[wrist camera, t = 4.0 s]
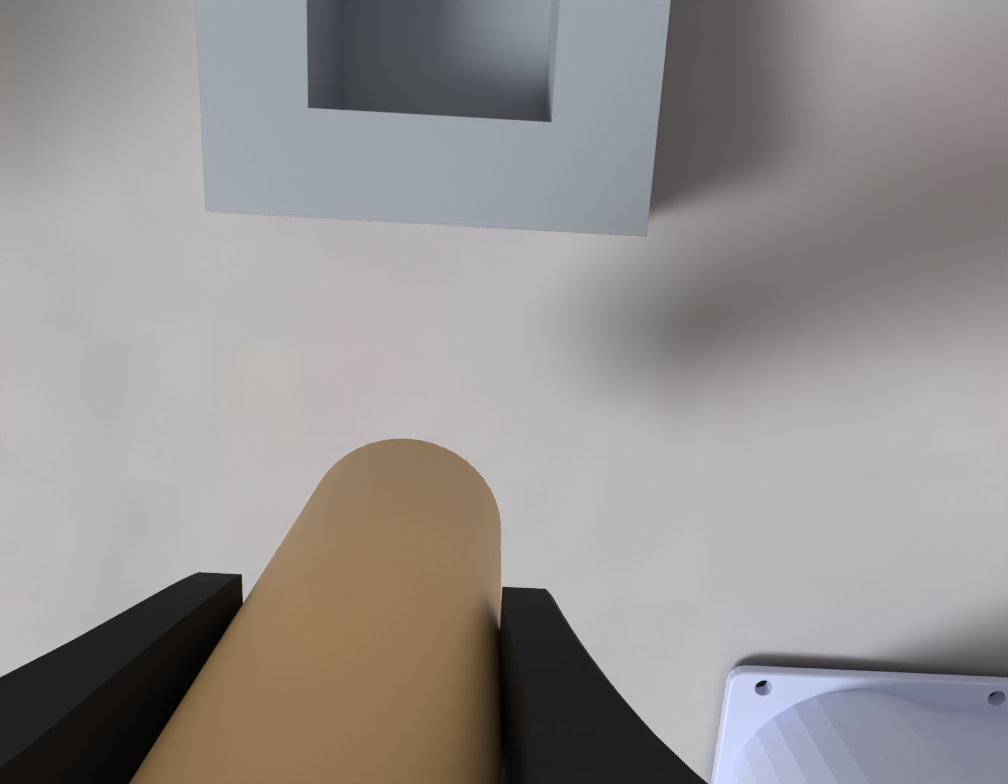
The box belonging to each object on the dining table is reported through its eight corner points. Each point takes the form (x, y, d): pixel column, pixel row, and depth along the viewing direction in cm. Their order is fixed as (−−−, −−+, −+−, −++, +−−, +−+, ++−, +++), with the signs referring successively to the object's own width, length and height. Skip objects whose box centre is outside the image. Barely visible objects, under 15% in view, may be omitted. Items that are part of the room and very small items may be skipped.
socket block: (654, -178, 17) (700, -291, 13) (616, 228, 19) (646, 236, 15) (255, -205, 17) (179, -327, 13) (265, 208, 19) (205, 211, 15)
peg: (506, 443, 13) (518, 982, 4) (495, 619, 14) (485, 1377, 5) (307, 434, 13) (-124, 960, 4) (309, 611, 14) (-39, 1363, 5)
